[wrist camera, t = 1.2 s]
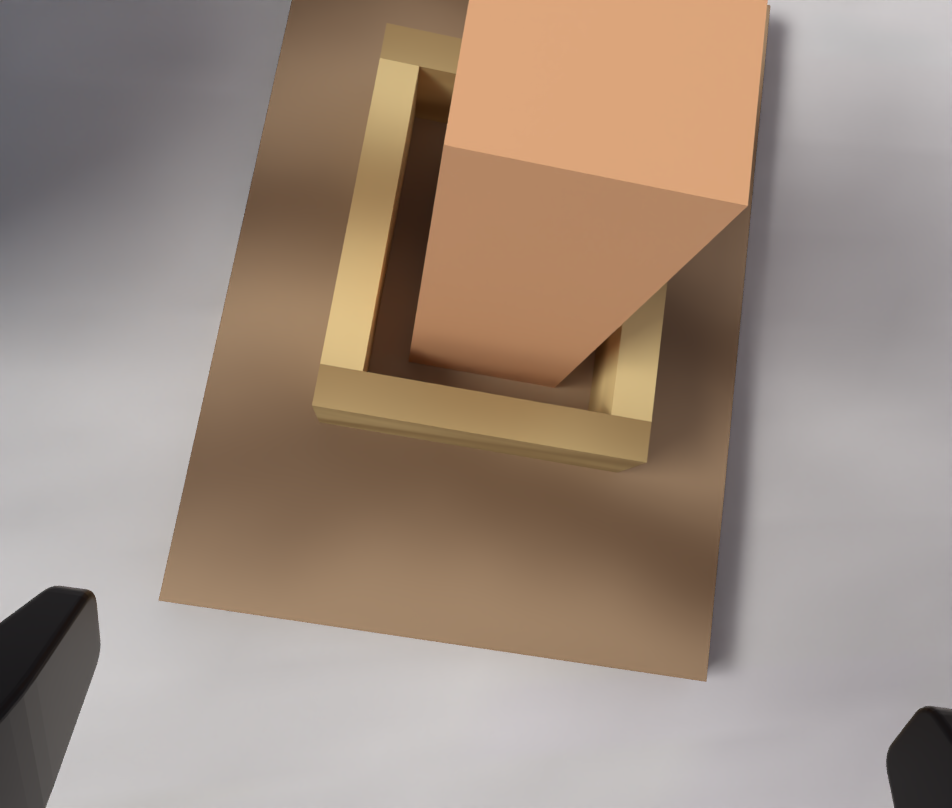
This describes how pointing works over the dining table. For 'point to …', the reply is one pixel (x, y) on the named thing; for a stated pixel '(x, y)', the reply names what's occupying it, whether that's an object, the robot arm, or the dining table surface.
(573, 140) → the c link
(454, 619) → the brown tray
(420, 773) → the dining table surface
